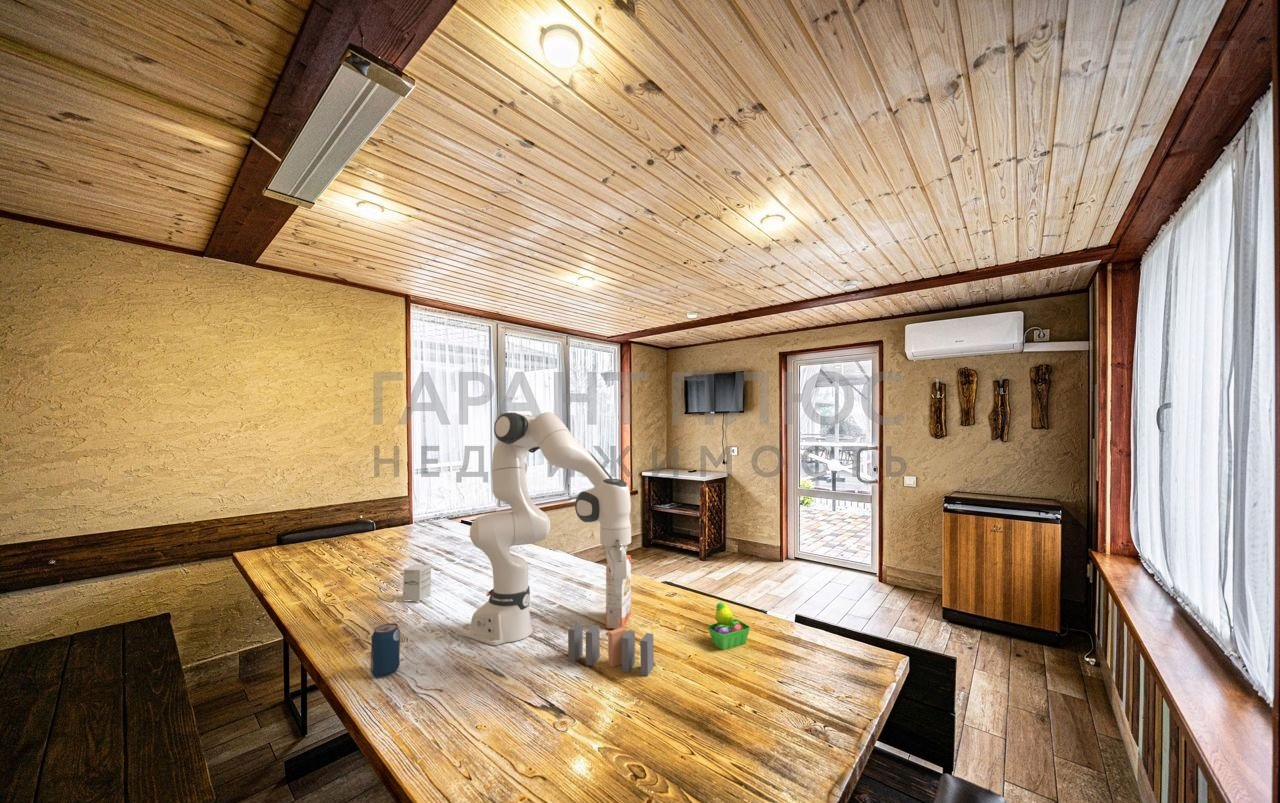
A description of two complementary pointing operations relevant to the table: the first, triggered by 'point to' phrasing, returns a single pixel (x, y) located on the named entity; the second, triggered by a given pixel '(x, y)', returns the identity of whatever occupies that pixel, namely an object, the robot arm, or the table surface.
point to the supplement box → (417, 582)
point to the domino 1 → (575, 642)
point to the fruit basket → (727, 629)
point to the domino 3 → (615, 646)
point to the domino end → (647, 654)
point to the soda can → (385, 650)
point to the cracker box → (618, 599)
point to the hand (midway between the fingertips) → (616, 586)
